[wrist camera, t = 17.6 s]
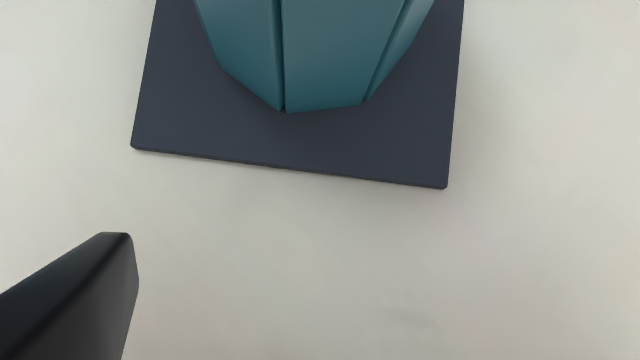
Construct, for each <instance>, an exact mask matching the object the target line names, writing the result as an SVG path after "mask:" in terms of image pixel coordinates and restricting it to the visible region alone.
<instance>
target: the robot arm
mask: <svg viewBox="0 0 640 360" xmlns="http://www.w3.org/2000/svg"><path fill="white" fill-rule="evenodd" d="M138 288H139V276H138V270H137V264H136V258H135V252H134V246H133V241H132V238H131V236H130V235H129V234H128V233H122V232H101V233H98V234H96V235H95V236H93V237H92V238H90V239H88V240H87V241H85V242H84V243H82V244H80V245H79V246H77V247H75V248H74V249H72V250H71V251H69V252H67V253H66V254H64V255H63V256H61V257H59V258H58V259H56V260H55V261H53V262H51V263H50V264H48V265H47V266H45V267H43V268H42V269H40V270H38V271H37V272H35V273H34V274H32V275H30V276H29V277H27V278H26V279H24V280H22V281H21V282H19V283H18V284H16V285H14V286H13V287H11V288H10V289H8V290H6V291H5V292H3V293H1V294H0V360H121V357H122V353H123V349H124V345H125V341H126V337H127V333H128V330H129V326H130V322H131V318H132V314H133V310H134V306H135V302H136V298H137V294H138Z"/></svg>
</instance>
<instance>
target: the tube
mask: <svg viewBox="0 0 640 360" xmlns="http://www.w3.org/2000/svg"><path fill="white" fill-rule="evenodd" d="M193 1H194V4H195V7H196V9H197V12H198V15H199V18H200V20H201V23H202V26H203V28H204V31H205V34H206V36H207V39H208V42H209V44H210V47H211V50H212V52H213V55H214V58H215V60H216V61H218V63H219V65H220V68H221V69H222V70H223V71H225V72H226V73H227V74H229V75H230V76H231V77H233V78H234V79H235V80H237V81H238V82H239V83H241V84H242V85H243V86H245V87H246V88H247V89H249V90H250V91H252V92H253V93H254V94H256V95H257V96H258V97H260V98H261V99H262V100H264V101H265V102H266V103H268V104H269V105H270V106H272V107H273V108H274V109H276V110H277V111H280V110H281V109H282V108H283V107H284V105H285V109H286V113H287V114H292V113H300V112H308V111H316V110H324V109H332V108H340V107H349V106H357V105H360V104H361V102H362V100H363V98H364V99H365V100H369V99H370V97H371V96H372V95H373V94H374V92H375V91H376V90H377V88H378V87H379V86H380V85H381V83H382V82H383V81H384V79H385V78H386V77H387V75H388V74H389V73H390V72H391V70H392V69H393V68H394V66H395V65H396V64H397V62H398V61H399V60H400V59H401V57H402V56H403V55H404V53H405V52H406V51H407V49H408V48H409V47H410V45H411V43H412V41H413V39H414V38H415V36H416V34H417V32H418V30H419V28H420V26H421V25H422V23H423V21H424V19H425V17H426V15H427V13H428V11H429V10H430V8H431V6H432V4H433V2H434V0H193Z"/></svg>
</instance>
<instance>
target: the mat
mask: <svg viewBox="0 0 640 360" xmlns="http://www.w3.org/2000/svg"><path fill="white" fill-rule="evenodd" d="M463 9H464V0H434V2H433V4H432V6H431V8H430V10H429V11H428V13H427V15H426V17H425V19H424V21H423V23H422V25H421V26H420V28H419V30H418V32H417V34H416V36H415V38H414V39H413V41H412V43H411V45H410V47H409V48H408V49H407V51H406V52H405V53H404V55H403V56H402V57H401V59H400V60H399V61H398V62H397V64H396V65H395V66H394V68H393V69H392V70H391V72H390V73H389V74H388V75H387V77H386V78H385V79H384V81H383V82H382V83H381V85H380V86H379V87H378V88H377V90H376V91H375V92H374V94H373V95H372V96H371V97H370V99H369V100H365V99H364V98H363V100H362V102H361V104H360V105H357V106H349V107H340V108H332V109H324V110H316V111H308V112H300V113H292V114H287V113H286V109H285V105H284V107H283V108H282V109H281V110H280V111H277V110H276V109H274V108H273V107H272V106H270V105H269V104H268V103H266V102H265V101H264V100H262V99H261V98H260V97H258V96H257V95H256V94H254V93H253V92H252V91H250V90H249V89H247V88H246V87H245V86H243V85H242V84H241V83H239V82H238V81H237V80H235V79H234V78H233V77H231V76H230V75H229V74H227V73H226V72H225V71H223V70H222V69H221V68H220V65H219V63H218V61H216V60H215V58H214V55H213V52H212V50H211V47H210V44H209V42H208V39H207V36H206V34H205V31H204V28H203V26H202V23H201V20H200V18H199V15H198V12H197V9H196V7H195V4H194V1H193V0H156V5H155V11H154V16H153V22H152V27H151V33H150V38H149V44H148V49H147V55H146V60H145V66H144V71H143V77H142V82H141V88H140V93H139V99H138V104H137V110H136V115H135V121H134V126H133V132H132V137H131V143H130V145H131V146H132V147H133V148H135V149H140V150H148V151H155V152H163V153H170V154H178V155H186V156H193V157H201V158H208V159H216V160H224V161H231V162H239V163H246V164H254V165H261V166H269V167H277V168H284V169H292V170H299V171H307V172H315V173H322V174H330V175H337V176H345V177H352V178H360V179H368V180H375V181H383V182H390V183H398V184H406V185H413V186H421V187H428V188H436V189H444V188H446V187H447V185H448V174H449V163H450V152H451V141H452V130H453V119H454V108H455V97H456V86H457V75H458V64H459V53H460V42H461V31H462V20H463Z"/></svg>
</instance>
